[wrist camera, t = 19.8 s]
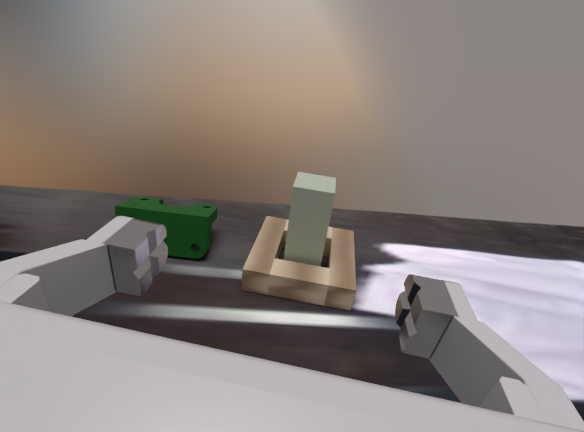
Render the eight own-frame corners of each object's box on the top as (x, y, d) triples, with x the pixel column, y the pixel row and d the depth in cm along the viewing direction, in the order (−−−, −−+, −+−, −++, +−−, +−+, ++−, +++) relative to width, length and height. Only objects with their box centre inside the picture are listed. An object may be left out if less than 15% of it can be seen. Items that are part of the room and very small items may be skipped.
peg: (281, 274, 40) (293, 186, 34) (287, 253, 43) (298, 171, 38) (317, 281, 39) (335, 193, 33) (319, 259, 43) (336, 177, 37)
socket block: (241, 289, 36) (242, 269, 35) (265, 233, 47) (266, 216, 46) (350, 310, 35) (356, 290, 34) (348, 248, 46) (353, 231, 45)
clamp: (202, 264, 46) (230, 212, 44) (188, 283, 41) (221, 224, 38) (125, 224, 45) (152, 168, 43) (100, 237, 39) (129, 174, 37)
